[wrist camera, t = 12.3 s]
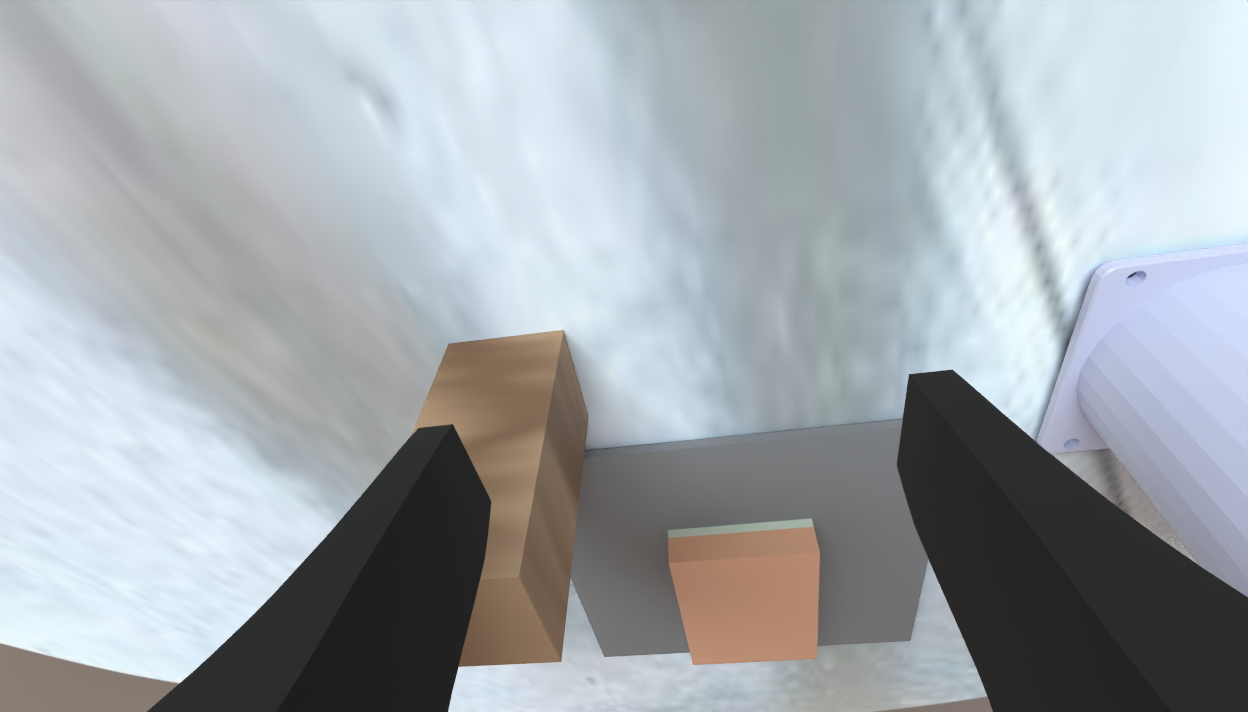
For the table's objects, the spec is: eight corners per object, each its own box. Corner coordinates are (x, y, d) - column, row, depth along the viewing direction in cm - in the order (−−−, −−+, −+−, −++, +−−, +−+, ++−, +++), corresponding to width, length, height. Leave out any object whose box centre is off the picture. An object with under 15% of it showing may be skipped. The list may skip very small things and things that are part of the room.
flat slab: (819, 552, 25) (816, 658, 30) (811, 518, 26) (810, 626, 31) (668, 563, 25) (693, 664, 31) (667, 529, 27) (691, 633, 32)
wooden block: (563, 330, 21) (518, 577, 14) (588, 415, 23) (560, 662, 16) (448, 343, 21) (349, 587, 14) (484, 425, 24) (415, 668, 17)
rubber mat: (953, 413, 22) (957, 422, 22) (907, 633, 32) (910, 640, 32) (524, 456, 25) (523, 464, 24) (604, 649, 34) (604, 656, 34)
